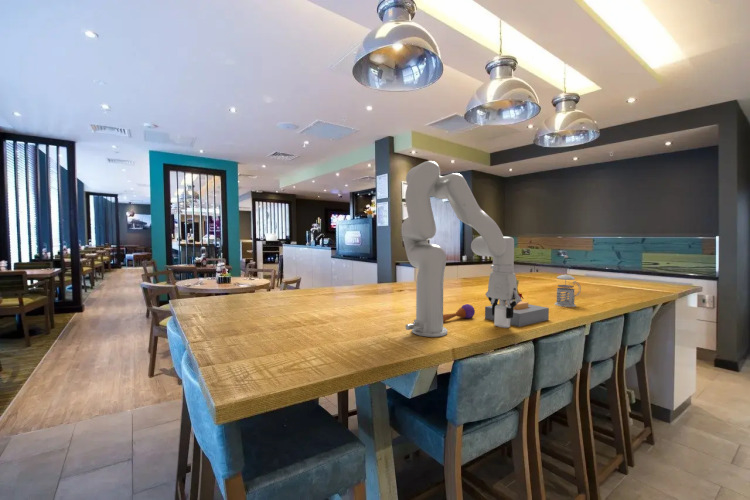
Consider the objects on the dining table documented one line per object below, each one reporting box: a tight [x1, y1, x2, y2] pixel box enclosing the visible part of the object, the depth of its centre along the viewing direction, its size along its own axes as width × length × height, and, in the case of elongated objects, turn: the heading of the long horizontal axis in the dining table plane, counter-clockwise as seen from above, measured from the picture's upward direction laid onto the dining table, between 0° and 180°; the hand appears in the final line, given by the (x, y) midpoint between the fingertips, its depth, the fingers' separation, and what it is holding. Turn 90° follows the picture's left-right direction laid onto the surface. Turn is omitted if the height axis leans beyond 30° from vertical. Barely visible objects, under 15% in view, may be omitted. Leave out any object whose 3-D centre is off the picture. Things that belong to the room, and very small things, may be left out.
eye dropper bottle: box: [493, 299, 511, 329], centre depth 131 cm, size 4×6×12 cm
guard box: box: [484, 303, 550, 328], centre depth 142 cm, size 20×16×5 cm
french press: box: [554, 255, 582, 308], centre depth 172 cm, size 10×12×25 cm
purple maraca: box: [443, 303, 476, 323], centre depth 141 cm, size 6×6×20 cm
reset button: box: [506, 300, 529, 310], centre depth 142 cm, size 8×6×3 cm
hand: (502, 315), depth 131 cm, fingers closed on eye dropper bottle, 5 cm apart
